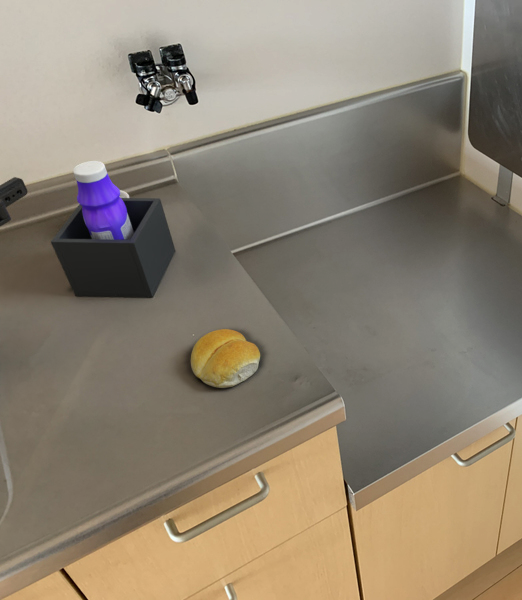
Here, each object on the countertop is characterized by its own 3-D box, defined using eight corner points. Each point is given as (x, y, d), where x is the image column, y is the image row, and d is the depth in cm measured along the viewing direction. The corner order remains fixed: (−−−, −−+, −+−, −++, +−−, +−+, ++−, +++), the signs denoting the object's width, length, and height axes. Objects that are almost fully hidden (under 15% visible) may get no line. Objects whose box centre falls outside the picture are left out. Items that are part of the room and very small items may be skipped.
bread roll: (231, 332, 85) (226, 311, 83) (271, 365, 81) (267, 344, 78) (179, 363, 81) (172, 342, 78) (217, 400, 76) (211, 379, 74)
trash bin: (75, 296, 91) (50, 241, 84) (105, 250, 100) (84, 197, 93) (152, 297, 91) (133, 243, 84) (175, 251, 100) (160, 198, 93)
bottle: (106, 258, 96) (67, 158, 85) (144, 251, 98) (111, 152, 86) (105, 286, 91) (63, 184, 80) (145, 278, 92) (109, 177, 81)
